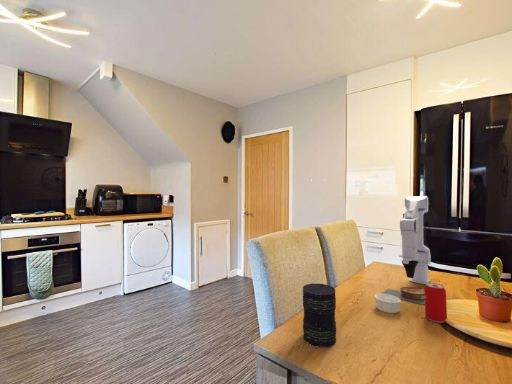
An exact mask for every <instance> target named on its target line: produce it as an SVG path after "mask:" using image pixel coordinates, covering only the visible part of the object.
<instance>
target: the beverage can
mask: <svg viewBox="0 0 512 384" xmlns="http://www.w3.org/2000/svg"><path fill="white" fill-rule="evenodd" d="M423 288H424V292H425V305H424V315H425V316H424V317H426V318H427V320H430V321H431V322H433V323H439V324H442V323H445V322H447V321H446V319H447V320H448V314H447V313H448V309H447V307H448V306H447V291H446V288H445V286H444V284H440V283H437V282H436V283H435V282H429V283H426V284H425V285H424V287H423Z"/></svg>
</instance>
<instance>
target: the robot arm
mask: <svg viewBox="0 0 512 384" xmlns="http://www.w3.org/2000/svg"><path fill="white" fill-rule="evenodd" d="M404 207H405V208H406V211H405V212H404V215H403V218H402V219H400V221H399V229H400V236H401V249H402V250H401V253H402V254H399V255H398V256H399V258H401V264H402V266H403V268H404V269H405V274H406V277H407V278H408V282H412V283H417V284H422V285H426V283H431V279H429V268H428V265H430V264H432V263H431V261H432V257H431V250H430V248H429V247H427V245H424V215H425V213H428V212H429V197H428V196H427V195H423V196H422V195H421V196H420V195H419V196H417V195H416V196H415V195H414V196H413V195H412V196H405V197H404Z"/></svg>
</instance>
